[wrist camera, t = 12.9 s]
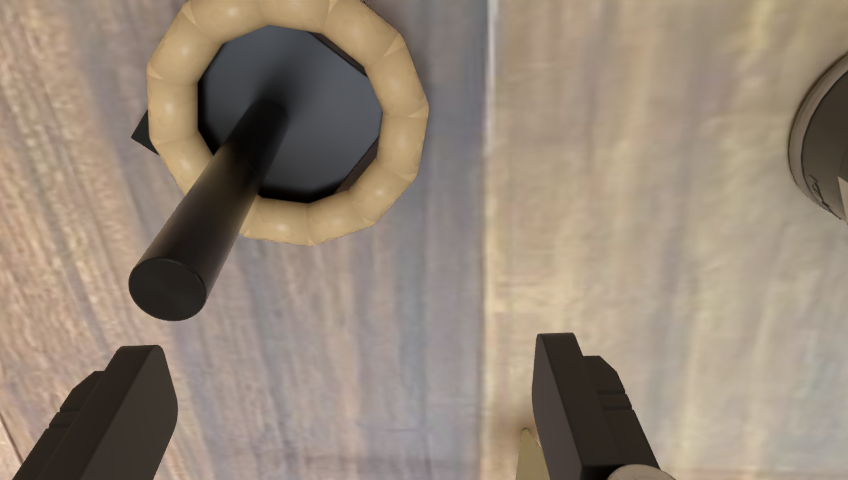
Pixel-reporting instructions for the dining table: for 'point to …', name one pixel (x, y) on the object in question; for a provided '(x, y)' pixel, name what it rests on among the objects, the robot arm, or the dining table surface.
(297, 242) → the ring
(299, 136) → the post
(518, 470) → the ice cream cone
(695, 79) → the dining table surface
